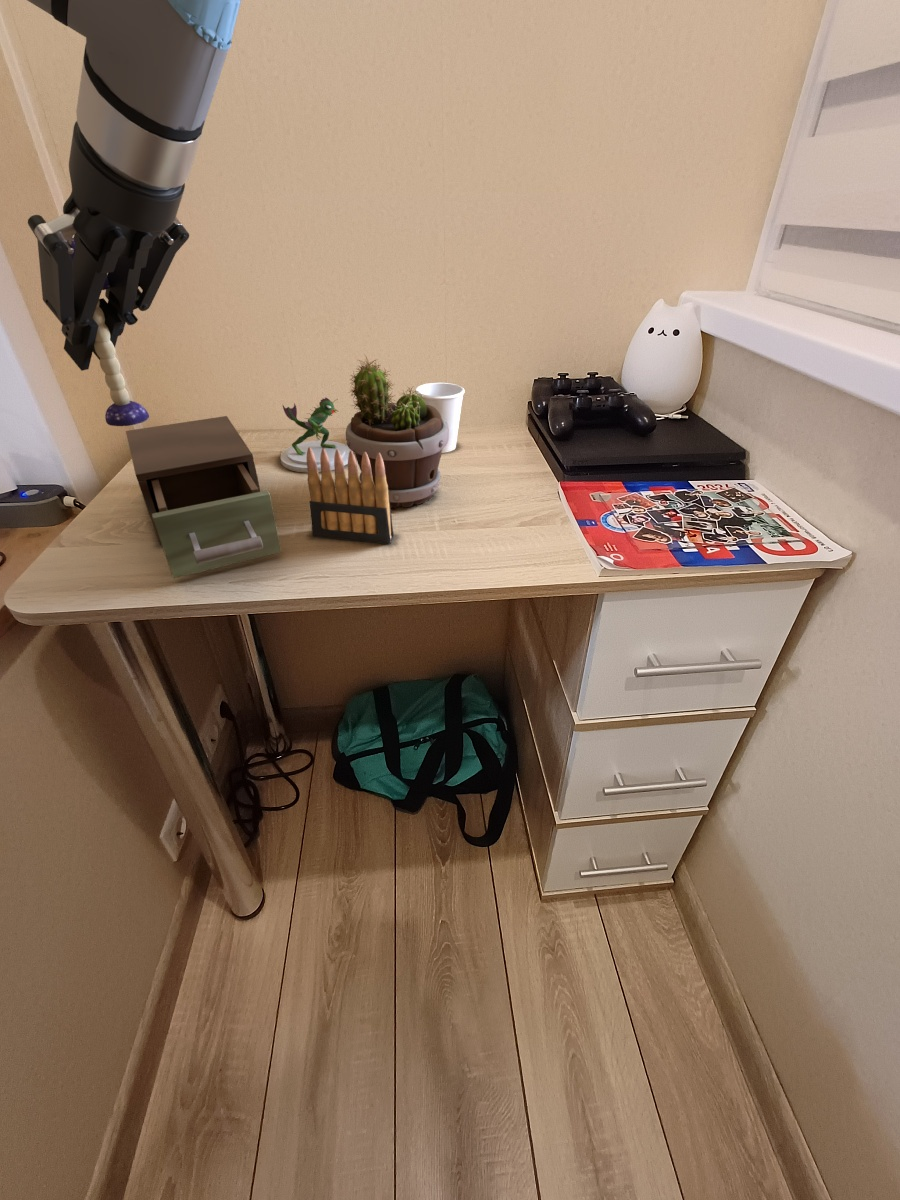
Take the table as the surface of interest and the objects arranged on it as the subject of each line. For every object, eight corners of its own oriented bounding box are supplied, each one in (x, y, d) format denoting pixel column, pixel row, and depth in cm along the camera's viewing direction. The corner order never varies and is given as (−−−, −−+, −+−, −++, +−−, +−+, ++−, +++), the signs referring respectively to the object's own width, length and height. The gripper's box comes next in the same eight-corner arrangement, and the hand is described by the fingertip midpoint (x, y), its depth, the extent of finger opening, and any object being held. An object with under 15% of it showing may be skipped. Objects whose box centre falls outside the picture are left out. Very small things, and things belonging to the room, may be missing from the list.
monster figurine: (345, 473, 92) (338, 409, 86) (272, 472, 93) (260, 408, 87) (358, 445, 102) (352, 387, 96) (291, 444, 102) (282, 385, 96)
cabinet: (266, 521, 79) (252, 453, 73) (159, 545, 74) (135, 474, 68) (240, 476, 91) (226, 415, 85) (147, 494, 86) (125, 430, 80)
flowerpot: (455, 475, 92) (456, 342, 80) (439, 520, 79) (438, 371, 68) (367, 470, 93) (356, 338, 82) (339, 513, 81) (320, 365, 69)
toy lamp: (138, 409, 64) (78, 234, 54) (164, 416, 62) (106, 237, 52) (98, 422, 61) (26, 240, 51) (124, 430, 59) (54, 242, 49)
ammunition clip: (394, 537, 76) (388, 450, 69) (390, 544, 74) (384, 456, 67) (317, 529, 77) (304, 443, 70) (312, 536, 76) (298, 449, 69)
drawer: (294, 575, 67) (283, 515, 62) (180, 605, 62) (158, 542, 57) (252, 501, 82) (241, 448, 77) (158, 521, 77) (139, 466, 72)
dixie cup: (443, 459, 97) (443, 400, 91) (406, 447, 101) (404, 390, 95) (472, 445, 102) (474, 388, 96) (437, 434, 106) (436, 379, 101)
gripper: (183, 114, 48) (127, 314, 64) (-7, 96, 37) (-14, 339, 54) (242, 193, 48) (171, 370, 65) (71, 196, 38) (40, 405, 55)
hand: (87, 356), depth 60 cm, fingers closed on toy lamp, 2 cm apart
